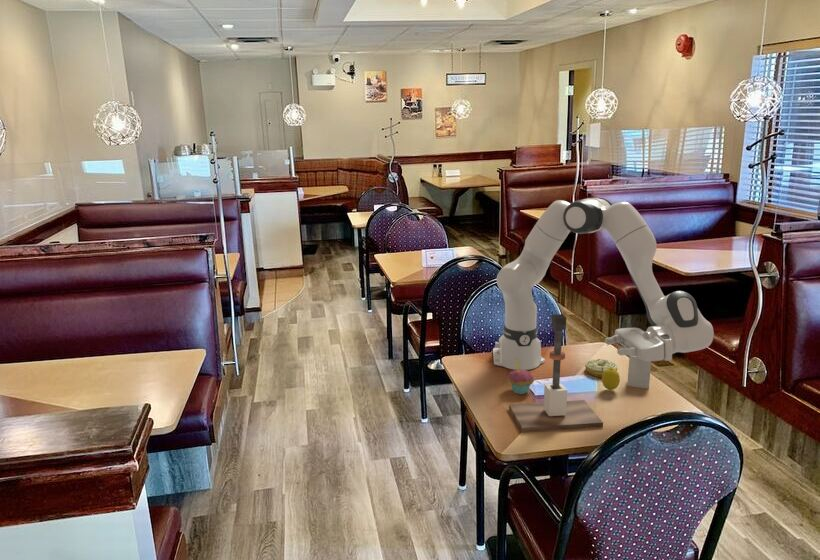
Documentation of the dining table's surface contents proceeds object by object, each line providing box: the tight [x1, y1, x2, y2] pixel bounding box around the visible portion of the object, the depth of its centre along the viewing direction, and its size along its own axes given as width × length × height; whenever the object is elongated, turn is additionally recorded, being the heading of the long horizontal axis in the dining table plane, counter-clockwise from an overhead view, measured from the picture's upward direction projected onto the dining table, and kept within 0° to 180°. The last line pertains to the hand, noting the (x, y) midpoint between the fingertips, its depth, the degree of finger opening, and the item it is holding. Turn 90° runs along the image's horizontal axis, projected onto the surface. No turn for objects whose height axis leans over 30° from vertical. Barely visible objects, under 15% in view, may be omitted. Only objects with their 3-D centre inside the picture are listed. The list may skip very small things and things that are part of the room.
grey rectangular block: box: [626, 356, 652, 389], centre depth 210 cm, size 4×7×10 cm, turn 71°
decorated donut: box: [584, 358, 618, 378], centre depth 222 cm, size 10×11×4 cm
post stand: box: [508, 313, 604, 433], centre depth 186 cm, size 15×24×32 cm, turn 96°
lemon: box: [601, 368, 621, 392], centre depth 207 cm, size 6×6×8 cm
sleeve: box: [543, 382, 568, 416], centre depth 189 cm, size 5×5×8 cm
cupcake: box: [507, 358, 535, 395], centre depth 207 cm, size 9×8×12 cm
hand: (611, 346), depth 186 cm, fingers open, 8 cm apart
